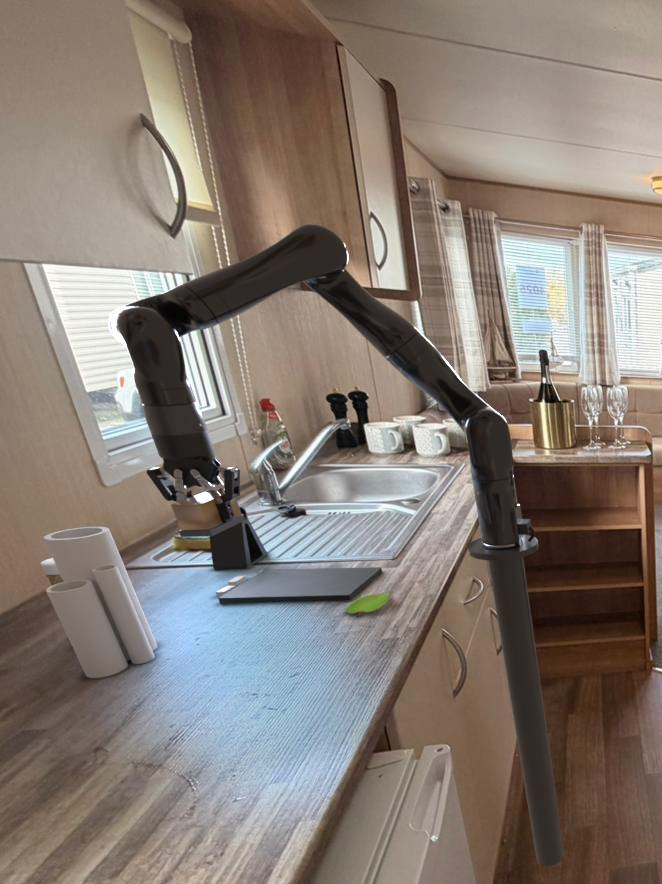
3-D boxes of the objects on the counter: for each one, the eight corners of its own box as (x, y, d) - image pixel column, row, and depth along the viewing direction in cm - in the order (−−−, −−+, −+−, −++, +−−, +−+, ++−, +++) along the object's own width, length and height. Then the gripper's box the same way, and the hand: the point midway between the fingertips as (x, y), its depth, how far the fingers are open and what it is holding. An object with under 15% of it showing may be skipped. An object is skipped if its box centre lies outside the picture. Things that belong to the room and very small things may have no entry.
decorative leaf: (336, 611, 119) (334, 606, 119) (382, 593, 126) (381, 589, 126) (360, 618, 116) (359, 613, 115) (406, 599, 123) (405, 595, 122)
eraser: (245, 520, 125) (235, 490, 123) (212, 536, 116) (200, 504, 114) (216, 520, 124) (206, 490, 122) (180, 536, 115) (168, 504, 113)
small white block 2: (237, 575, 129) (238, 580, 129) (227, 581, 126) (228, 586, 126) (245, 575, 129) (247, 580, 129) (235, 581, 126) (237, 586, 126)
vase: (106, 648, 102) (52, 529, 94) (165, 639, 106) (119, 524, 98) (80, 681, 94) (19, 553, 86) (147, 669, 97) (94, 546, 89)
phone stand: (247, 568, 135) (229, 513, 130) (213, 569, 133) (194, 514, 128) (267, 554, 143) (251, 502, 138) (236, 555, 141) (218, 502, 136)
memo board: (382, 572, 136) (381, 567, 136) (350, 600, 123) (348, 595, 122) (266, 574, 132) (265, 569, 132) (220, 603, 119) (218, 598, 118)
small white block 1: (226, 585, 124) (227, 590, 124) (215, 592, 121) (217, 596, 122) (234, 585, 124) (236, 590, 125) (224, 591, 121) (225, 596, 122)
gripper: (237, 426, 117) (266, 515, 124) (148, 425, 115) (182, 516, 122) (211, 433, 111) (242, 527, 118) (115, 433, 108) (153, 528, 115)
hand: (212, 521), depth 120 cm, fingers closed on eraser, 4 cm apart
